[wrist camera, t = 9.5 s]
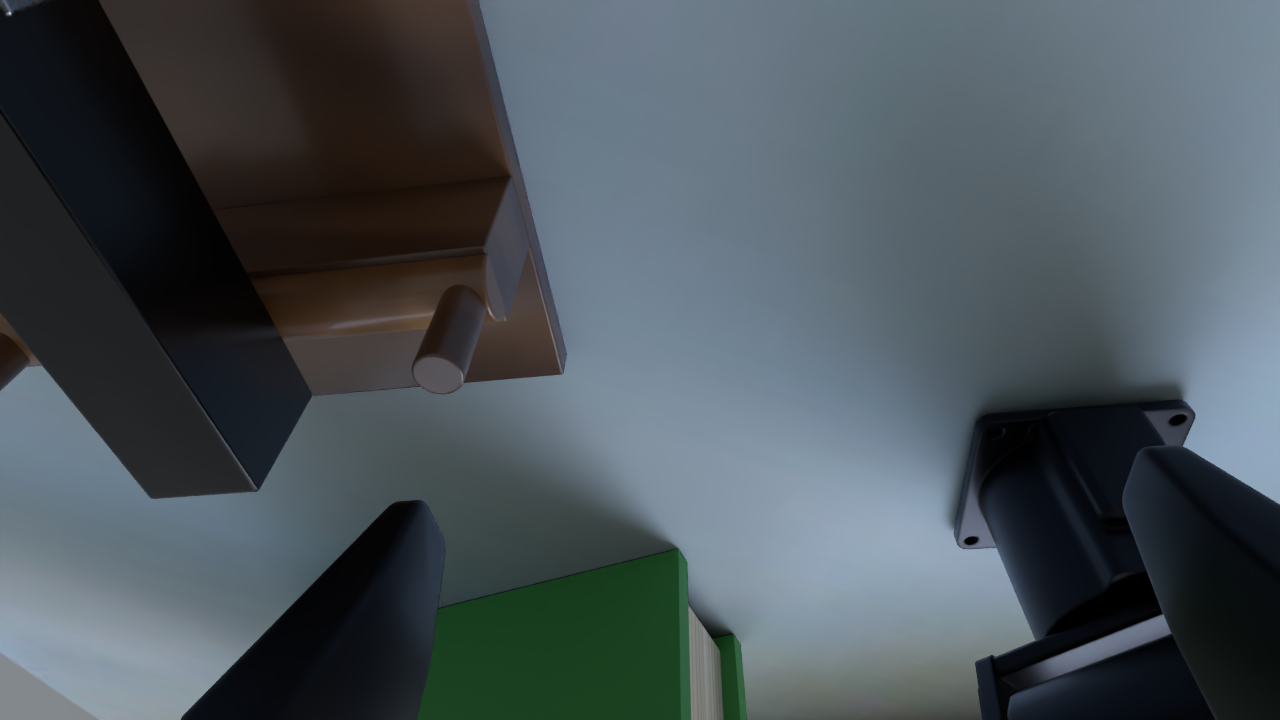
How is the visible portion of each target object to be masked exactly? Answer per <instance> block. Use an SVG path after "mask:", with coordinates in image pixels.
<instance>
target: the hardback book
mask: <svg viewBox="0 0 1280 720" xmlns="http://www.w3.org/2000/svg"><path fill="white" fill-rule="evenodd" d="M417 720H747V713H746V701H745V689H744V677H743V665H742V654H741V645H740V643H739V641H738V640H737V638H736V637H735V635H734V634H733V635H728V636H723V637H719V638H714V639H711V637H710V636H709V634H708V633H707V631H706V630H705V628H704V627H703V625H702V624H701V622H700V621H699V620H698V618H697V617H696V615H695V614H694V612H693V611H692V609H691V608H690V606H689V605H688V573H687V561H686V560H685V558H684V557H683V555H682V554H681V552H680V551H679V549H676V550H672V551H668V552H664V553H660V554H656V555H652V556H648V557H644V558H640V559H636V560H632V561H628V562H624V563H620V564H616V565H612V566H608V567H604V568H600V569H596V570H592V571H588V572H584V573H580V574H576V575H572V576H568V577H564V578H560V579H556V580H552V581H548V582H544V583H540V584H536V585H532V586H528V587H524V588H520V589H516V590H512V591H508V592H504V593H500V594H496V595H492V596H488V597H483V598H479V599H475V600H471V601H467V602H463V603H459V604H455V605H451V606H447V607H443V608H439V609H438V613H437V621H436V628H435V636H434V644H433V650H432V656H431V662H430V667H429V671H428V676H427V680H426V684H425V688H424V692H423V697H422V701H421V705H420V709H419V713H418V717H417Z"/></svg>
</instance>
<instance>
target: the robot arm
mask: <svg viewBox="0 0 1280 720" xmlns="http://www.w3.org/2000/svg"><path fill="white" fill-rule="evenodd" d="M1194 419H1195V413H1194V411H1193V410H1192V409H1191V407H1190V406H1189V405H1188V404H1187V402H1185V401H1183V400H1165V401H1152V402H1139V403H1126V404H1113V405H1099V406H1086V407H1073V408H1060V409H1047V410H1034V411H1020V412H1007V413H994V414H989V415H986V416H984V417H982V418H980V419H979V420H978V421H977V423H976V425H975V428H974V433H973V438H972V443H971V448H970V453H969V458H968V464H967V469H966V474H965V479H964V484H963V489H962V494H961V499H960V504H959V509H958V514H957V519H956V524H955V529H954V537H955V539H956V542H957V545H958V546H959V547H961V548H963V549H980V548H997V550H998V552H999V555H1000V557H1001V559H1002V562H1003V564H1004V566H1005V569H1006V571H1007V574H1008V576H1009V578H1010V581H1011V583H1012V585H1013V588H1014V590H1015V593H1016V595H1017V597H1018V600H1019V602H1020V605H1021V607H1022V609H1023V612H1024V614H1025V616H1026V619H1027V621H1028V624H1029V626H1030V628H1031V631H1032V633H1033V635H1034V638H1035V640H1036V641H1033V642H1031V643H1028V644H1026V645H1024V646H1021V647H1019V648H1016V649H1014V650H1011V651H1009V652H1006V653H1004V654H1002V655H999V656H997V657H995V656H993V655H990V656H988V657H985V658H983V659H981V660H978V661H976V662H975V666H976V673H977V679H978V686H979V688H978V694H979V701H980V707H981V714H982V720H1280V504H1278V503H1276V502H1275V501H1273V500H1271V499H1270V498H1268V497H1266V496H1265V495H1263V494H1261V493H1260V492H1258V491H1256V490H1255V489H1253V488H1251V487H1250V486H1248V485H1247V484H1245V483H1243V482H1242V481H1240V480H1238V479H1237V478H1235V477H1233V476H1232V475H1230V474H1228V473H1227V472H1225V471H1223V470H1222V469H1220V468H1218V467H1217V466H1215V465H1214V464H1212V463H1210V462H1209V461H1207V460H1205V459H1204V458H1202V457H1200V456H1199V455H1197V454H1195V453H1194V452H1192V451H1190V450H1189V449H1187V448H1185V447H1182V446H1183V444H1184V442H1185V440H1186V437H1187V435H1188V433H1189V431H1190V428H1191V426H1192V424H1193V422H1194ZM993 428H995V429H994V430H991V429H993ZM989 430H990V431H989ZM444 560H445V542H444V539H443V536H442V534H441V532H440V530H439V527H438V525H437V523H436V521H435V519H434V517H433V515H432V513H431V511H430V509H429V507H428V505H427V504H426V503H425V502H424V501H422V500H411V501H398V502H395V503H393V504H391V505H390V506H389V507H388V508H387V509H386V510H385V511H384V512H383V513H382V514H381V515H380V516H379V517H378V518H377V519H376V520H375V521H374V522H373V523H372V524H371V525H370V526H369V527H368V528H367V529H366V530H365V531H364V532H363V533H362V534H361V535H360V536H359V537H358V538H357V539H356V540H355V541H354V542H353V543H352V544H351V545H350V546H349V547H348V548H347V549H346V550H345V551H344V552H343V553H342V554H341V555H340V556H339V558H338V559H337V560H336V561H335V562H334V563H333V564H332V565H331V566H330V567H329V568H328V569H327V570H326V571H325V572H324V573H323V574H322V575H321V576H320V577H319V578H318V579H317V580H316V581H315V582H314V583H313V584H312V585H311V586H310V587H309V588H308V589H307V590H306V591H305V592H304V593H303V594H302V595H301V596H300V597H299V598H298V599H297V600H296V601H295V602H294V603H293V604H292V605H291V606H290V607H289V608H288V609H287V610H286V611H285V612H284V613H283V615H282V616H281V617H280V618H279V619H278V620H277V621H276V622H275V623H274V624H273V625H272V626H271V627H270V628H269V629H268V630H267V631H266V632H265V633H264V634H263V635H262V636H261V637H260V638H259V639H258V640H257V641H256V642H255V643H254V644H253V645H252V646H251V647H250V648H249V649H248V650H247V651H246V652H245V653H244V654H243V655H242V656H241V657H240V658H239V659H238V660H237V661H236V662H235V663H234V664H233V665H232V666H231V667H230V668H229V669H228V670H227V672H226V673H225V674H224V675H223V676H222V677H221V678H220V679H219V680H218V681H217V682H216V683H215V684H214V685H213V686H212V687H211V688H210V689H209V690H208V691H207V692H206V693H205V694H204V695H203V696H202V697H201V698H200V699H199V700H198V701H197V702H196V703H195V704H194V705H193V706H192V707H191V708H190V709H189V710H188V711H187V712H186V713H185V714H184V715H183V716H182V718H181V720H417V717H418V713H419V709H420V705H421V701H422V697H423V692H424V688H425V684H426V680H427V676H428V671H429V667H430V662H431V656H432V650H433V644H434V636H435V628H436V621H437V613H438V606H439V598H440V590H441V583H442V575H443V568H444Z"/></svg>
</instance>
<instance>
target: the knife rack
mask: <svg viewBox="0 0 1280 720" xmlns="http://www.w3.org/2000/svg"><path fill="white" fill-rule="evenodd" d="M99 2H100V3H101V5H102V7H103V9H104V11H105V13H106V14H107V16H108V18H109V20H110V22H111V24H112V25H113V27H114V29H115V31H116V33H117V35H118V37H119V38H120V40H121V42H122V44H123V46H124V48H125V49H126V51H127V53H128V55H129V57H130V59H131V61H132V62H133V64H134V66H135V68H136V70H137V72H138V73H139V75H140V77H141V79H142V81H143V83H144V84H145V86H146V88H147V90H148V92H149V94H150V96H151V97H152V99H153V101H154V103H155V105H156V107H157V108H158V110H159V112H160V114H161V116H162V118H163V119H164V121H165V123H166V125H167V127H168V129H169V131H170V132H171V134H172V136H173V138H174V140H175V142H176V143H177V145H178V147H179V149H180V151H181V153H182V154H183V156H184V158H185V160H186V162H187V164H188V166H189V167H190V169H191V171H192V173H193V175H194V177H195V178H196V180H197V182H198V184H199V186H200V188H201V189H202V191H203V193H204V195H205V197H206V199H207V201H208V202H209V204H210V206H211V208H212V210H213V212H214V213H215V215H216V217H217V219H218V221H219V223H220V224H221V226H222V228H223V230H224V232H225V234H226V236H227V237H228V239H229V241H230V243H231V245H232V247H233V248H234V250H235V252H236V254H237V256H238V258H239V260H240V261H241V263H242V265H243V267H244V269H245V271H246V272H247V274H248V276H249V278H250V280H251V282H252V283H253V285H254V287H255V289H256V291H257V293H258V295H259V296H260V298H261V300H262V302H263V304H264V306H265V307H266V309H267V311H268V313H269V315H270V317H271V318H272V320H273V322H274V324H275V326H276V328H277V330H278V331H279V333H280V335H281V337H282V339H283V341H284V342H285V344H286V346H287V348H288V350H289V352H290V353H291V355H292V357H293V359H294V361H295V363H296V365H297V366H298V368H299V370H300V372H301V374H302V376H303V377H304V379H305V381H306V383H307V385H308V387H309V388H310V390H311V392H312V396H317V395H329V394H340V393H352V392H364V391H375V390H387V389H398V388H410V387H422V388H423V389H425V390H427V391H429V392H432V393H436V394H449V393H452V392H454V391H456V390H458V389H459V388H460V387H461V386H462V385H463V383H468V382H479V381H491V380H502V379H514V378H525V377H537V376H548V375H560V374H563V373H564V367H565V362H566V356H567V353H566V349H565V345H564V341H563V337H562V333H561V329H560V325H559V321H558V317H557V313H556V309H555V305H554V301H553V297H552V293H551V289H550V285H549V281H548V277H547V273H546V269H545V265H544V261H543V257H542V253H541V249H540V245H539V241H538V237H537V233H536V229H535V225H534V221H533V217H532V213H531V209H530V205H529V201H528V197H527V193H526V189H525V185H524V181H523V177H522V173H521V169H520V165H519V161H518V157H517V153H516V149H515V145H514V141H513V137H512V133H511V129H510V125H509V121H508V117H507V113H506V109H505V105H504V101H503V97H502V93H501V89H500V85H499V81H498V77H497V73H496V69H495V65H494V61H493V57H492V53H491V49H490V45H489V41H488V37H487V33H486V29H485V25H484V21H483V17H482V13H481V9H480V5H479V1H478V0H99ZM32 366H33V367H34V366H42V365H41V363H40V362H39V361H38V360H37V358H36V357H35V356H34V355H33V354H32V352H31V351H30V350H29V349H28V347H27V346H26V345H25V344H24V343H23V341H22V340H21V339H20V338H19V336H18V335H17V334H16V333H15V332H14V330H13V329H12V328H11V327H10V325H9V324H8V323H7V322H6V320H5V319H4V318H3V317H2V316H1V314H0V391H1V390H2V389H3V388H4V387H5V386H6V385H8V384H9V383H10V382H11V381H12V380H13V379H14V378H15V377H16V376H17V375H18V374H19V373H20V372H21V371H22V370H24V369H25V368H26V367H32Z"/></svg>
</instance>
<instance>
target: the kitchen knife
mask: <svg viewBox="0 0 1280 720" xmlns="http://www.w3.org/2000/svg"><path fill="white" fill-rule="evenodd" d="M0 314H1V316H2V317H3V318H4V319H5V320H6V322H7V323H8V324H9V325H10V327H11V328H12V329H13V330H14V332H15V333H16V334H17V335H18V336H19V338H20V339H21V340H22V341H23V343H24V344H25V345H26V346H27V347H28V349H29V350H30V351H31V352H32V354H33V355H34V356H35V357H36V358H37V360H38V361H39V362H40V363H41V365H42V366H43V367H44V368H45V370H46V371H47V372H48V373H49V374H50V376H51V377H52V378H53V379H54V381H55V382H56V383H57V384H58V385H59V387H60V388H61V389H62V390H63V392H64V393H65V394H66V395H67V396H68V398H69V399H70V400H71V401H72V403H73V404H74V405H75V406H76V408H77V409H78V410H79V411H80V412H81V414H82V415H83V416H84V417H85V419H86V420H87V421H88V422H89V423H90V425H91V426H92V427H93V428H94V430H95V431H96V432H97V433H98V434H99V436H100V437H101V438H102V439H103V441H104V442H105V443H106V444H107V446H108V447H109V448H110V449H111V450H112V452H113V453H114V454H115V455H116V457H117V458H118V459H119V460H120V461H121V463H122V464H123V465H124V466H125V468H126V469H127V470H128V471H129V472H130V474H131V475H132V476H133V477H134V479H135V480H136V481H137V482H138V484H139V485H140V486H141V487H142V488H143V490H144V491H145V492H146V493H147V495H148V496H149V497H150V498H152V499H159V498H173V497H186V496H200V495H214V494H228V493H242V492H256V491H258V490H259V489H260V487H261V486H262V484H263V482H264V480H265V478H266V477H267V475H268V473H269V471H270V470H271V468H272V466H273V464H274V463H275V461H276V459H277V457H278V456H279V454H280V452H281V450H282V448H283V447H284V445H285V443H286V441H287V440H288V438H289V436H290V434H291V433H292V431H293V429H294V427H295V426H296V424H297V422H298V420H299V418H300V417H301V415H302V413H303V411H304V410H305V408H306V406H307V404H308V403H309V401H310V399H311V397H312V392H311V390H310V388H309V387H308V385H307V383H306V381H305V379H304V377H303V376H302V374H301V372H300V370H299V368H298V366H297V365H296V363H295V361H294V359H293V357H292V355H291V353H290V352H289V350H288V348H287V346H286V344H285V342H284V341H283V339H282V337H281V335H280V333H279V331H278V330H277V328H276V326H275V324H274V322H273V320H272V318H271V317H270V315H269V313H268V311H267V309H266V307H265V306H264V304H263V302H262V300H261V298H260V296H259V295H258V293H257V291H256V289H255V287H254V285H253V283H252V282H251V280H250V278H249V276H248V274H247V272H246V271H245V269H244V267H243V265H242V263H241V261H240V260H239V258H238V256H237V254H236V252H235V250H234V248H233V247H232V245H231V243H230V241H229V239H228V237H227V236H226V234H225V232H224V230H223V228H222V226H221V224H220V223H219V221H218V219H217V217H216V215H215V213H214V212H213V210H212V208H211V206H210V204H209V202H208V201H207V199H206V197H205V195H204V193H203V191H202V189H201V188H200V186H199V184H198V182H197V180H196V178H195V177H194V175H193V173H192V171H191V169H190V167H189V166H188V164H187V162H186V160H185V158H184V156H183V154H182V153H181V151H180V149H179V147H178V145H177V143H176V142H175V140H174V138H173V136H172V134H171V132H170V131H169V129H168V127H167V125H166V123H165V121H164V119H163V118H162V116H161V114H160V112H159V110H158V108H157V107H156V105H155V103H154V101H153V99H152V97H151V96H150V94H149V92H148V90H147V88H146V86H145V84H144V83H143V81H142V79H141V77H140V75H139V73H138V72H137V70H136V68H135V66H134V64H133V62H132V61H131V59H130V57H129V55H128V53H127V51H126V49H125V48H124V46H123V44H122V42H121V40H120V38H119V37H118V35H117V33H116V31H115V29H114V27H113V25H112V24H111V22H110V20H109V18H108V16H107V14H106V13H105V11H104V9H103V7H102V5H101V3H100V2H99V0H0Z"/></svg>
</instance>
